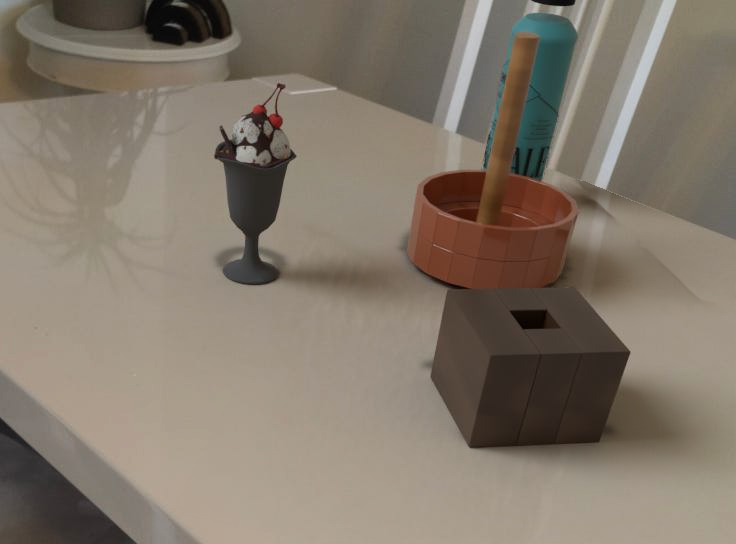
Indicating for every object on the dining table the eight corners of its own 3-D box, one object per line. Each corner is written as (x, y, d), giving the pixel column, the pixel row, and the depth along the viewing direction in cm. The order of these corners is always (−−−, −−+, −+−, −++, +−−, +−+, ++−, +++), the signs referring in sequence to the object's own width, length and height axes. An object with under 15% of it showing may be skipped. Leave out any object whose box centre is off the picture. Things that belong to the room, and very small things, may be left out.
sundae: (301, 269, 88) (316, 83, 77) (263, 295, 83) (274, 103, 73) (238, 250, 90) (245, 68, 79) (198, 275, 86) (200, 86, 75)
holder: (549, 373, 76) (574, 286, 71) (599, 442, 69) (631, 351, 65) (429, 376, 75) (446, 289, 70) (468, 447, 68) (490, 355, 63)
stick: (470, 252, 91) (515, 30, 78) (491, 255, 91) (540, 33, 78) (467, 260, 90) (514, 36, 77) (489, 263, 89) (539, 39, 77)
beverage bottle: (502, 183, 106) (550, -36, 92) (551, 203, 103) (608, -22, 89) (462, 195, 103) (506, -31, 89) (511, 215, 100) (564, -16, 86)
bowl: (528, 233, 97) (543, 169, 92) (583, 297, 87) (603, 229, 82) (389, 234, 95) (399, 169, 90) (430, 300, 85) (443, 230, 80)
